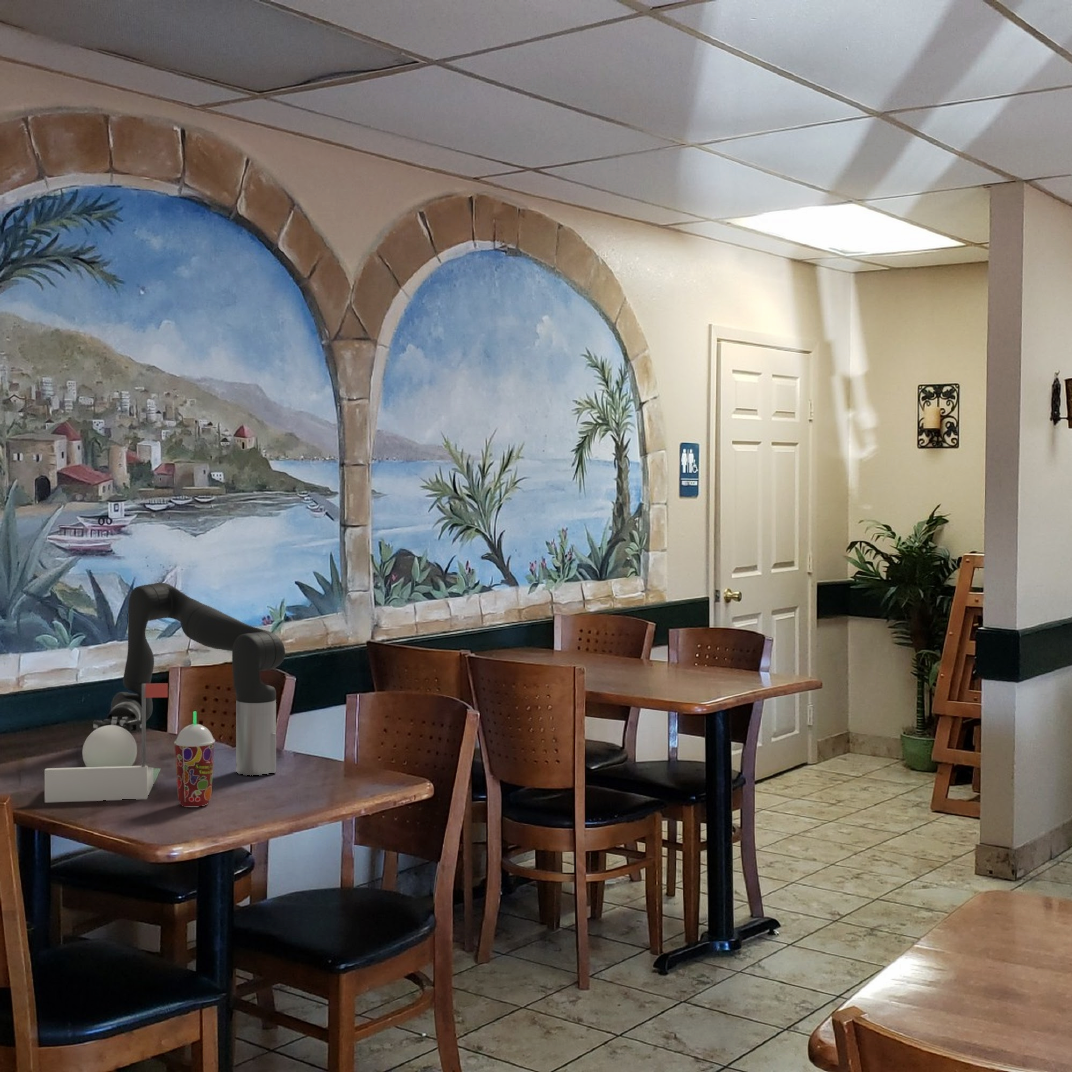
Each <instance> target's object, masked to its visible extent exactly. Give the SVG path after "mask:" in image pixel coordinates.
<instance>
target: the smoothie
mask: <svg viewBox="0 0 1072 1072" xmlns="http://www.w3.org/2000/svg"><path fill="white" fill-rule="evenodd" d="M192 713H193V715H192V717H193V718H192V719H193V720H192V724H189V725H186V726H185V727H183V728H182V729H181V730H180V732H179V733H178V734H177V736H176V739H175V740H174V743H173V744H174V753H175V768H176V769H175V770H176V772H175V773H176V781H177V782H176V785H177V786H176V788H177V799H178V801H179V802H180V806H181V805H183V806H202V805H205V804H207V803H208V804H209V802H210V800H211V799H212V789H213V788H212V787H213V776H214V775H213V774H214V759H215V743H216V739H215V738H214V737H213V734H212V732H211V731H210V729H208V728H207V727H206V726H204V725H202V724H199V723H197V711H193V712H192ZM183 806H182V807H183Z"/></svg>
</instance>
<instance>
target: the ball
mask: <svg viewBox="0 0 1072 1072" xmlns="http://www.w3.org/2000/svg"><path fill="white" fill-rule="evenodd" d="M137 753H138V745H137V742H136V740H135V738H134V736H133V735H132V733H130V732H128V731H127V730H126V729H124V728H122V727H120V726H115V725H107V726H103V727H100V728H98V729H96V730H94V731H91V733H90V734H89V735H88V736H87V737H86V739H85V741H84V743H83V745H82V760H83V762H84V765H85V767H115V766H134V764H135V761H136V759H137V755H138V754H137Z"/></svg>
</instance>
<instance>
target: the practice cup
mask: <svg viewBox="0 0 1072 1072" xmlns="http://www.w3.org/2000/svg"><path fill="white" fill-rule="evenodd" d="M168 686H169V685H168V682H167V683H166V682H165V683H163V682H162V683H160V682H159V683H151V684H142V731H141V765H132V766H115V767H87V766H83V767H82V766H81V767H56V768H55V767H52V768H51V767H50V768H45V769H44V803H67V802H68V803H69V802H71V803H72V802H74V803H76V802H97V801H98V802H100V801H101V802H102V801H103V800H106V801H123V800H122V799H136V800H148V797H149V796H148V795H150V793H151V791H152V789H153V787H154V785H153V784H155V782H156V780H157V778H158V775H159V773H160V771H161V767H160V768H159V767H158V768H154V767H153V766H152V767H148V765H146V757H147V756H146V753H147V751H146V750H147V748H146V747H147V746H146V745H147V744H146V739H147V736H146V735H147V734H146V733H147V731H146V729H147V726H146V725H147V724H146V723H147V720H146V698H152V699H153V698H157V699H158V698H168V695H169V693H168V691H169V689H168V688H169V687H168Z"/></svg>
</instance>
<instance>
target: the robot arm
mask: <svg viewBox="0 0 1072 1072" xmlns="http://www.w3.org/2000/svg"><path fill="white" fill-rule="evenodd" d="M127 613H128V615H127V656H126V661H125V666H124V673H123V678H122V685H123V687H125V688H126V690H128V691H130V692H127V691H119V692H117V693H116V694H115V695H114V696H113V698H112V700H111V704H110V711H109V713H107V717H106V719H105V718H104V719H103V721H102V720H98V719H94V720H93V723H92V725H93V727H92V729H93V731H94V730H96V729H98V728H100V727H103V726H107V725H115V726H120V727H122V728H124V729H126V730H127V731H128V732H130V733H131V734H134V733H139V732H142V684H152V683H151V682H152V677H153V673H154V672H153V671H154V666H155V657H154V653H153V650H152V648H151V646H150V644H149V642H148V640H147V636H146V629H147V625H148V622H151V621H155V620H160V619H173V620H175V621H178V622H180V627H181V630H182V632H183V634H184V635H185V636H186V637H187V638H188V639H190V640H192V641H194V642H196V643H197V644H200V645H202V646H204V647H207V648H212V649H217V650H221V651H228V652H229V651H230V652H232V653H231V662H232V679H233V682H232V683H233V688H234V691H235V692H234V693H235V697H236V699H235V700H236V701H235V702H236V706H235V707H236V708H235V710H236V711H235V712H236V713H235V716H236V718H235V719H236V721H235V722H236V724H235V727H236V728H235V730H236V731H235V735H236V736H235V739H236V741H235V742H236V743H235V745H236V746H235V749H236V750H235V752H236V753H235V767H236V768H235V773H236V772H237V773H238V774H237V773H236V774H237V775H240V774H243V775H242V776H247V775H250V776H251V775H252V776H251V777H253V775H259V776H263V775H262V774H267V775H269V774H268V773H275V772H277V703H276V702H277V690H276V688H275V687H274V686H271V685H268V684H266V683H264V682H263V681H262V678H261V672H263V671H270V670H273V669H275V668H277V667H279V666H280V665H281V664H282V663H283V662H284V660H285V657H286V649H285V645H284V643H283V641H282V639H281V638H280V637H279V636H278V635H277V634H276V633H274V632H271V631H269V630H265V629H262V628H258V627H256V626H252V625H249V624H247V623H245V622H243V621H240V620H238V619H237V618H234V617H232V616H230V615H229V614H226V613H224V612H222V611H221V610H218V609H216V608H214V607H213V606H210V605H207V604H205V603H202V602H200V601H198V600H196V599H194V598H192V597H190V596H188V595H186V594H185V593H183V592H182V591H180V590H179V589H178V588H176V587H175V586H173V585H171V584H169V583H168V582H167V583H165V582H156V583H148V584H142V585H139V586H135V587H134V588H133V589H132V590H131V591H130V595H129V599H128V609H127ZM132 692H133V693H132ZM153 704H154V703H153V698H146V721H148V720H149V719H150V717H151V716H152V714H153V706H154V705H153ZM93 731H92V732H93ZM250 776H249V777H250Z"/></svg>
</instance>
